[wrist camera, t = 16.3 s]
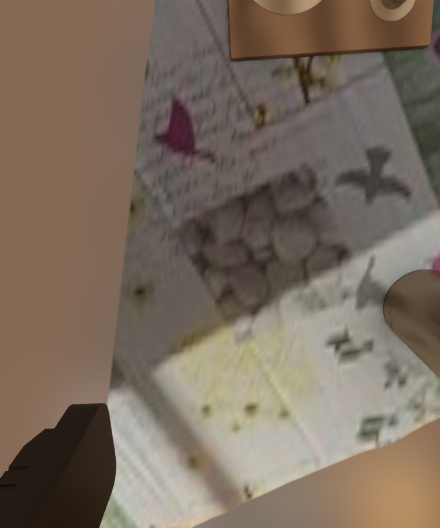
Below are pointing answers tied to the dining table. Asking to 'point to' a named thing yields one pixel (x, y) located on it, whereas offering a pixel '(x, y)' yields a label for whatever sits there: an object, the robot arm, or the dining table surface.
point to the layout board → (326, 27)
